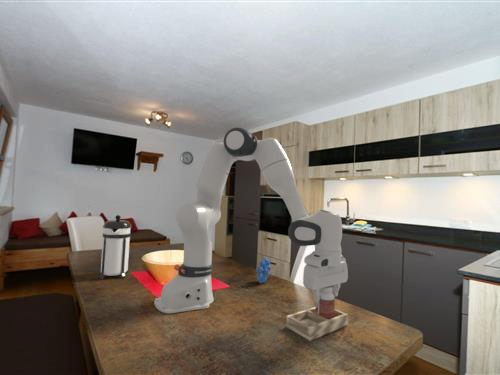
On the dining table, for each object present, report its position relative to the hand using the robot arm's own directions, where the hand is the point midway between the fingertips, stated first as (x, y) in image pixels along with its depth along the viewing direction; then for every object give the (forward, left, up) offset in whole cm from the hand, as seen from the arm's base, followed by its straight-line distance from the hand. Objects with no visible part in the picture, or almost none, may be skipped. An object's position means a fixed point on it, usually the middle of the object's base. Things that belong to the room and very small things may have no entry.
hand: (326, 298), depth 90 cm
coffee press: (-50, +90, -8) cm, 103 cm away
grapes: (+9, +45, -8) cm, 46 cm away
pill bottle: (0, 0, -7) cm, 7 cm away
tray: (-4, 0, -8) cm, 9 cm away
